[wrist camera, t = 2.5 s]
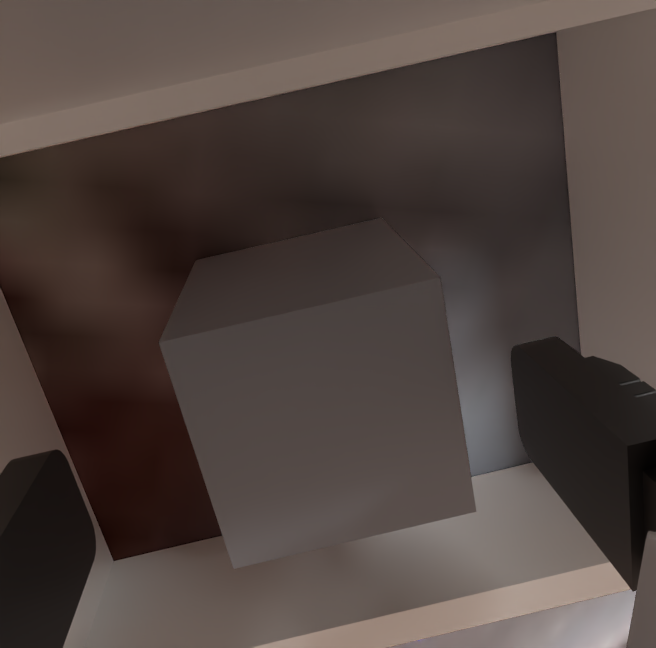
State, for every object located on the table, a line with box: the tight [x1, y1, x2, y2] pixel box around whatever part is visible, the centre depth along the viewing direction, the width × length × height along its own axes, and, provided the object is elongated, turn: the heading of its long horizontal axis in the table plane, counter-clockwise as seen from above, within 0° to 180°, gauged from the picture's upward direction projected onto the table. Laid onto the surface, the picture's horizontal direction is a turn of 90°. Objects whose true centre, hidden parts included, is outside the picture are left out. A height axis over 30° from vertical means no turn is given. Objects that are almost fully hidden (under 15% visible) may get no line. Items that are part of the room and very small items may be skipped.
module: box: [159, 218, 476, 569], centre depth 15 cm, size 5×5×6 cm
